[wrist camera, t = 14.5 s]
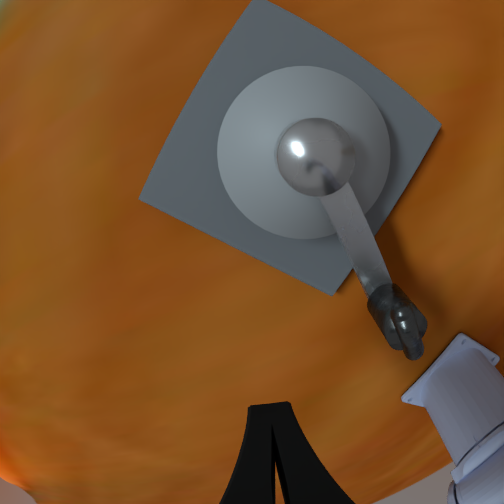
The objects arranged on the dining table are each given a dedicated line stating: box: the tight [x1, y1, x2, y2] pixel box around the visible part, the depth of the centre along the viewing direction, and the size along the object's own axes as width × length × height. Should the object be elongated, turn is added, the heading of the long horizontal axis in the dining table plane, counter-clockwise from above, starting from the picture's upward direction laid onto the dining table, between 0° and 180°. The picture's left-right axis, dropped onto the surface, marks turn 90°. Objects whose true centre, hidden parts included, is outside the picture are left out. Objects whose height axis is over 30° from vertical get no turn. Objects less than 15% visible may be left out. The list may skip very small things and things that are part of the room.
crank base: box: [139, 0, 442, 296], centre depth 14 cm, size 12×12×2 cm
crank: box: [274, 118, 427, 360], centre depth 12 cm, size 11×3×4 cm, turn 31°
